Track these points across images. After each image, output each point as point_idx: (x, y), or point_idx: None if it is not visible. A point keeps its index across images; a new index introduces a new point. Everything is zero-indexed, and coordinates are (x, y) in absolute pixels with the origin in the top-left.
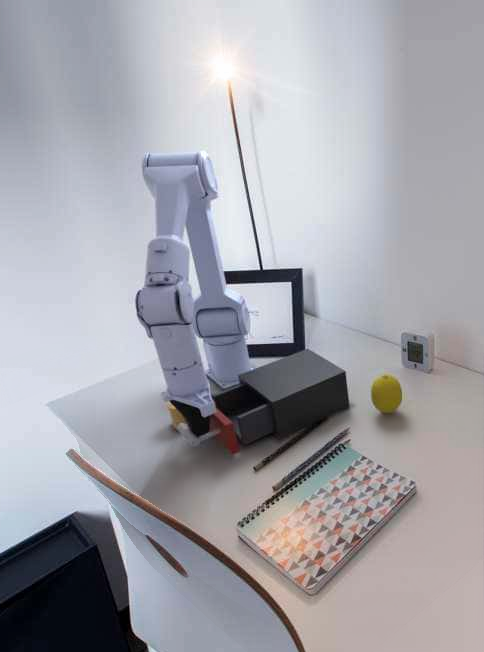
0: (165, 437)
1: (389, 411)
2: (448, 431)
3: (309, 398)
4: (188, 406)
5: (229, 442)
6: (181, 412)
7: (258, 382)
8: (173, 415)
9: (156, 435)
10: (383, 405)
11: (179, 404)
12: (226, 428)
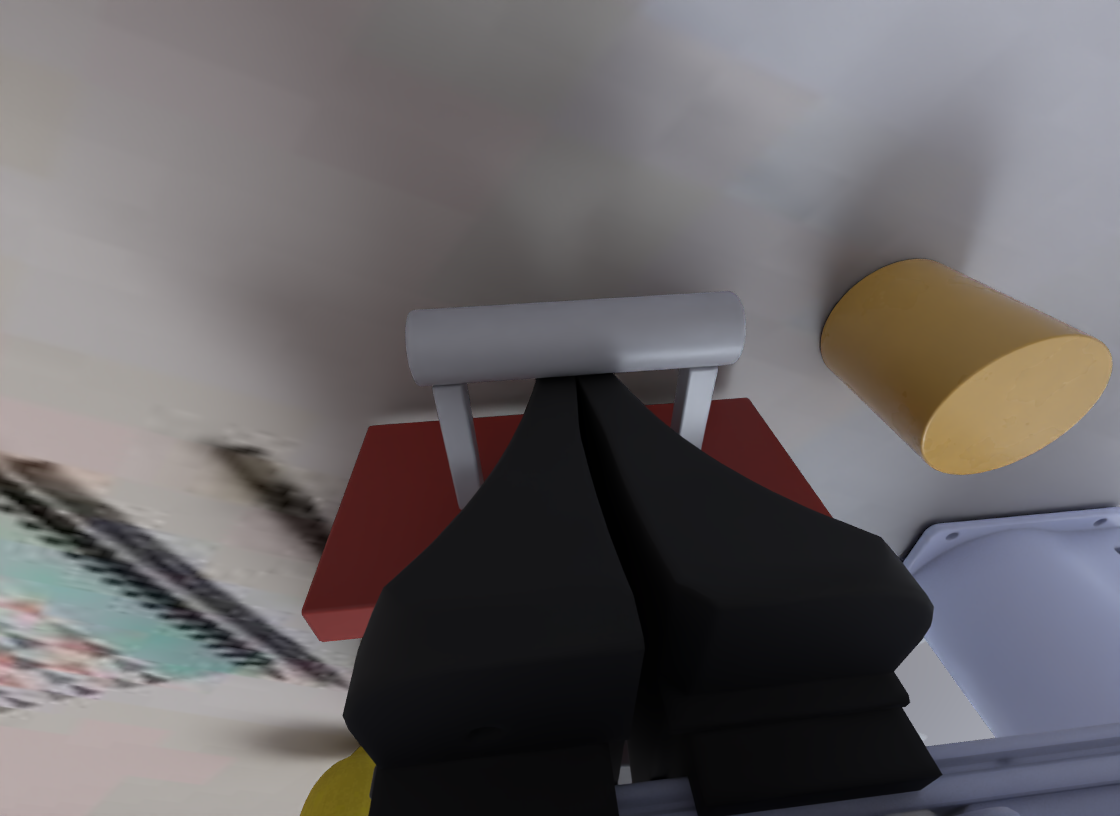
0: (893, 174)
1: (320, 777)
2: (204, 785)
3: None
4: (401, 750)
5: (351, 486)
6: (385, 620)
7: (630, 781)
8: (965, 317)
9: (977, 128)
10: (308, 807)
11: (579, 690)
12: (311, 587)
